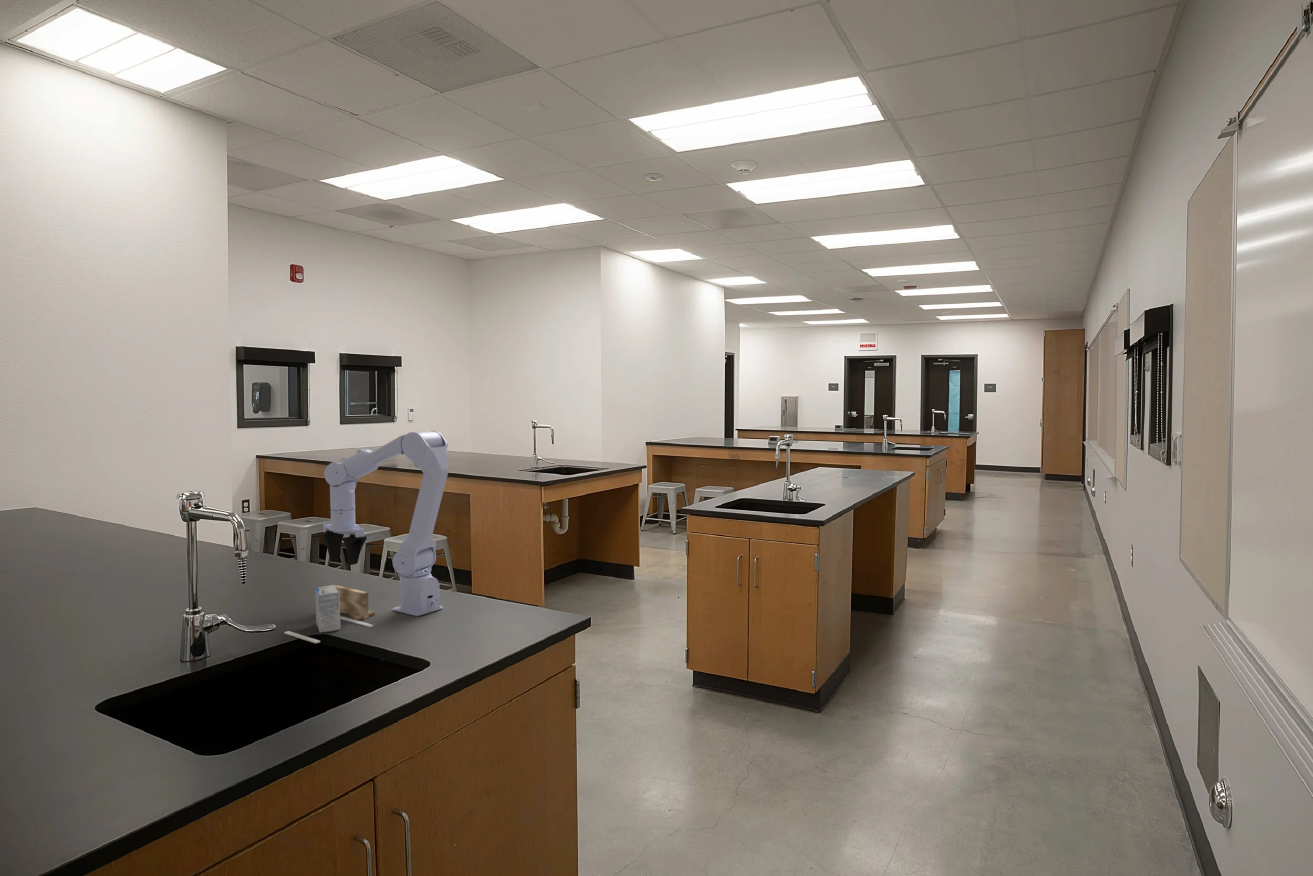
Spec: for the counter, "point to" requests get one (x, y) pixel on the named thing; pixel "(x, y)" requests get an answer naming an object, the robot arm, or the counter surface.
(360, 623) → the tape marks
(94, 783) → the counter surface
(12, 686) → the counter surface
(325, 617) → the medicine box
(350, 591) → the wooden board with feet
